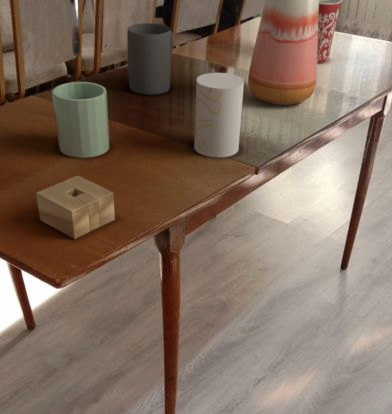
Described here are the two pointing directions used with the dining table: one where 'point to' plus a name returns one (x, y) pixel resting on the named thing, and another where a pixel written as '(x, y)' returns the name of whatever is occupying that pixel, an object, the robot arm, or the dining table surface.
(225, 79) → the white cylinder
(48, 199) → the spoon stand
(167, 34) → the mug
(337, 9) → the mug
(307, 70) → the vase
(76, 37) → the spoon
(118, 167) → the dining table surface
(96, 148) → the mint green mug
